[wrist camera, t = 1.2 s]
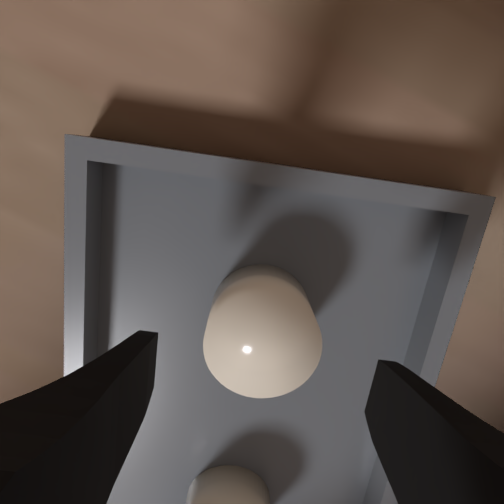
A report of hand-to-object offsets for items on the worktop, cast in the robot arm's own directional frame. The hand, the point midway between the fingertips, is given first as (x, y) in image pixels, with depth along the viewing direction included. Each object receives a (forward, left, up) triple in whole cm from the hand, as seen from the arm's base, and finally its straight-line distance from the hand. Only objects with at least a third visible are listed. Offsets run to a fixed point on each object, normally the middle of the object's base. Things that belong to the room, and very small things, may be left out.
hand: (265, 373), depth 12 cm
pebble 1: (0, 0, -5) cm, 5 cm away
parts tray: (-2, -5, -5) cm, 8 cm away
